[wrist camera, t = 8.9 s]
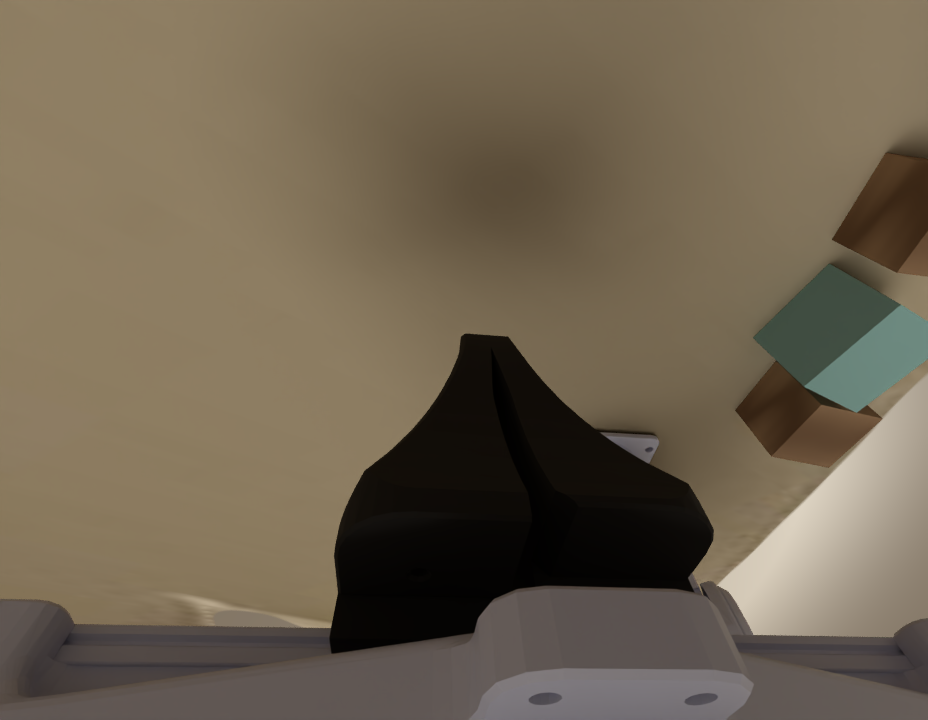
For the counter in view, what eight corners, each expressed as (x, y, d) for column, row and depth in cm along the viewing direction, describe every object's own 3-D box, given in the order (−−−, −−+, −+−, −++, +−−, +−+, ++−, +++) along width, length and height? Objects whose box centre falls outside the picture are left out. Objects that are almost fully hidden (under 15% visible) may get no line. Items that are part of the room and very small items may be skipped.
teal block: (799, 361, 27) (856, 412, 23) (752, 337, 25) (803, 386, 22) (876, 293, 24) (954, 338, 20) (828, 262, 23) (900, 304, 19)
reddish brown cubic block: (786, 420, 29) (828, 467, 26) (734, 409, 29) (771, 456, 25) (830, 373, 27) (882, 418, 24) (775, 360, 26) (821, 404, 23)
